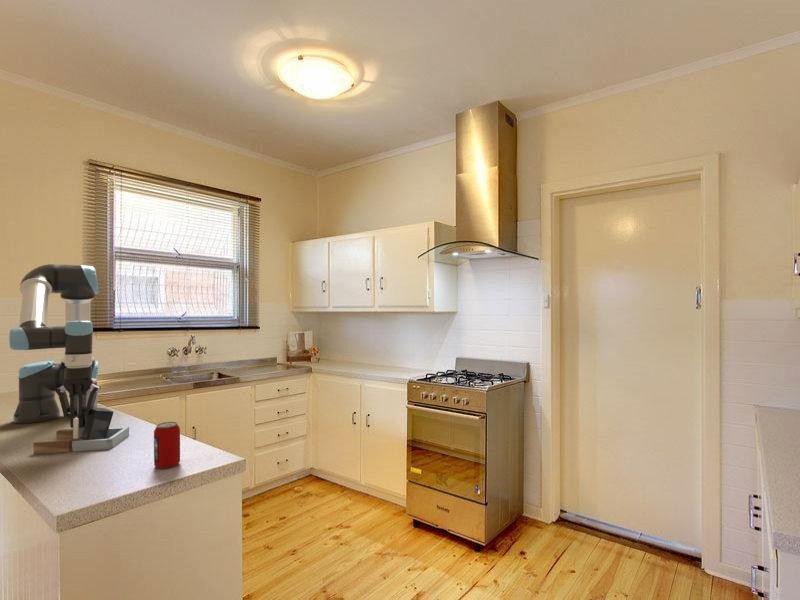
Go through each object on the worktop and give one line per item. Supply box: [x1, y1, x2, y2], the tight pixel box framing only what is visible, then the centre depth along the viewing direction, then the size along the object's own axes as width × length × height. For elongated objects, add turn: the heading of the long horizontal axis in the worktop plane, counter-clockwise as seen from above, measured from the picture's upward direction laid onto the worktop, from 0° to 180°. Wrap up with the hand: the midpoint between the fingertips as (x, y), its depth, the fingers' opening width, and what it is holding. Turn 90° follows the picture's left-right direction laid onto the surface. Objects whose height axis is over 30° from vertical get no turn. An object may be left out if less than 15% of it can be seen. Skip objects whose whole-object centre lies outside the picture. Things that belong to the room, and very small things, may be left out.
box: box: [79, 406, 114, 440], centre depth 153 cm, size 8×6×11 cm
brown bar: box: [32, 428, 83, 455], centre depth 149 cm, size 15×10×4 cm, turn 11°
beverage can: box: [153, 421, 181, 470], centre depth 130 cm, size 7×7×12 cm
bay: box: [72, 426, 130, 452], centre depth 151 cm, size 15×11×3 cm
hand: (77, 437), depth 149 cm, fingers closed
